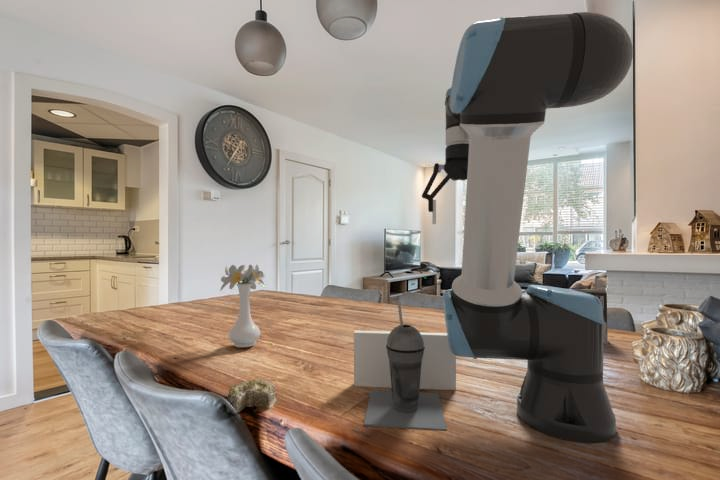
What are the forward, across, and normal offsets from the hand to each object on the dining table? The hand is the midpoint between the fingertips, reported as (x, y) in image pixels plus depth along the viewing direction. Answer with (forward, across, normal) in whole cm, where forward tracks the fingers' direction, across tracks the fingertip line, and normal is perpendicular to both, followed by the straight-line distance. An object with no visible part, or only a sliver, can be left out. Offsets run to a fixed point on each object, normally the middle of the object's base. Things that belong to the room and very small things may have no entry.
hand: (459, 224), depth 97 cm
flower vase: (+37, +64, -6) cm, 75 cm away
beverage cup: (+36, +15, +32) cm, 50 cm away
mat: (+37, +15, +32) cm, 51 cm away
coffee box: (+37, -44, -23) cm, 62 cm away
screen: (+37, +15, +21) cm, 45 cm away
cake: (+37, +45, +33) cm, 67 cm away
